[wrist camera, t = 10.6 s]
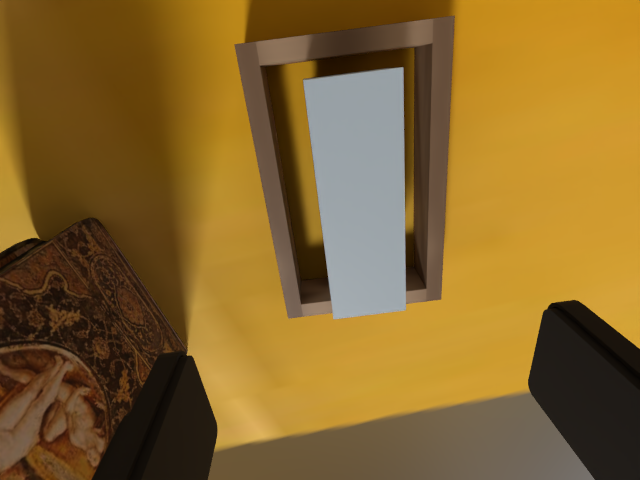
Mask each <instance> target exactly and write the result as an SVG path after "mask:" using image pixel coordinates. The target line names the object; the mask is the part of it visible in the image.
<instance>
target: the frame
mask: <svg viewBox="0 0 640 480" xmlns="http://www.w3.org/2000/svg"><path fill="white" fill-rule="evenodd" d="M454 18H455V16H449V17H441V18H434V19H426V20H418V21H411V22H403V23H395V24H388V25H380V26H372V27H365V28H357V29H349V30H342V31H334V32H326V33H319V34H311V35H303V36H296V37H288V38H280V39H272V40H265V41H257V42H249V43H242V44H234V45H235V50H236V55H237V60H238V65H239V70H240V75H241V80H242V85H243V90H244V96H245V101H246V106H247V111H248V116H249V121H250V126H251V131H252V136H253V141H254V146H255V151H256V156H257V162H258V167H259V172H260V177H261V182H262V187H263V192H264V197H265V202H266V207H267V212H268V217H269V223H270V228H271V233H272V238H273V243H274V248H275V253H276V258H277V263H278V268H279V273H280V278H281V284H282V289H283V294H284V299H285V304H286V309H287V314H288V318H296V317H304V316H312V315H320V314H328V313H333V310H332V303H331V295H330V287H329V279H328V277H326V278H318V279H310V280H302V281H301V277H300V271H299V265H298V259H297V253H296V247H295V241H294V235H293V229H292V223H291V217H290V211H289V205H288V199H287V193H286V187H285V181H284V175H283V169H282V163H281V157H280V151H279V145H278V139H277V133H276V127H275V121H274V115H273V109H272V103H271V97H270V91H269V85H268V78H267V72H266V67H267V66H275V65H282V64H290V63H298V62H305V61H313V60H321V59H328V58H336V57H344V56H352V55H359V54H367V53H375V52H382V51H390V50H398V49H406V48H413V47H415V60H414V267H406V304H409V303H417V302H425V301H433V300H441V291H442V270H443V249H444V228H445V207H446V186H447V165H448V144H449V123H450V102H451V81H452V60H453V39H454Z"/></svg>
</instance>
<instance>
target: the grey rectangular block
mask: <svg viewBox="0 0 640 480" xmlns="http://www.w3.org/2000/svg"><path fill="white" fill-rule="evenodd" d="M303 83H304V91H305V99H306V107H307V115H308V123H309V130H310V138H311V146H312V154H313V162H314V170H315V178H316V185H317V193H318V201H319V209H320V217H321V225H322V232H323V240H324V248H325V256H326V264H327V272H328V279H329V287H330V295H331V303H332V310H333V318H334V319H340V318H348V317H356V316H364V315H371V314H379V313H387V312H395V311H403V310H406V265H405V171H404V77H403V67H398V68H383V69H375V70H368V71H360V72H353V73H345V74H338V75H330V76H323V77H315V78H307V79H303Z"/></svg>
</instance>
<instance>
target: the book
mask: <svg viewBox="0 0 640 480" xmlns="http://www.w3.org/2000/svg"><path fill="white" fill-rule="evenodd" d="M177 351H184V352H185V353H186V354H187V349H186V347H185V346H184V344H183V343H182V341H181V340H180V338H179V337H178V335H177V334H176V332H175V331H174V330H173V328H172V327H171V325H170V324H169V322H168V321H167V319H166V318H165V316H164V315H163V313H162V312H161V310H160V309H159V307H158V306H157V304H156V303H155V301H154V300H153V298H152V297H151V295H150V294H149V292H148V291H147V289H146V288H145V286H144V285H143V283H142V282H141V280H140V279H139V277H138V276H137V274H136V273H135V272H134V270H133V269H132V267H131V266H130V264H129V263H128V261H127V260H126V258H125V257H124V255H123V254H122V252H121V251H120V249H119V248H118V247H117V245H116V244H115V242H114V241H113V240H112V238H111V237H110V236H109V234H108V233H107V231H106V230H105V229H104V227H103V226H102V224H101V223H100V222H99V221H98V220H97V219H95V218H88V219H85V220H82V221H80V222H77V223H75V224H73V225H72V226H70V227H69V228H67V229H66V230H64V231H62V232H61V233H60V234H58V235H57V236H55V237H54V238H52V239H51V240H49V241H48V242H46V241H42V240H40V239H37V238H31V239H27V240H25V241H22V242H19V243H17V244H15V245H13V246H11V247H10V248H8V249H6V250H4V251H3V252H1V253H0V480H91V479H92V477H93V475H94V473H95V471H96V469H97V467H98V465H99V463H100V461H101V459H102V457H103V456H104V454H105V452H106V450H107V448H108V446H109V444H110V442H111V440H112V438H113V436H114V434H115V432H116V430H117V428H118V426H119V424H120V422H121V420H122V419H123V417H124V416H125V415H126V414H127V413H128V412H131V410H132V408H133V406H134V404H135V402H136V399H137V397H138V395H139V393H140V391H141V389H142V387H143V385H144V383H145V381H146V379H147V377H148V375H149V373H150V371H151V369H152V367H153V365H154V363H155V361H156V359H157V357H158V356H159V355H160V354H161V353H169V352H177Z"/></svg>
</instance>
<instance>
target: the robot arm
mask: <svg viewBox="0 0 640 480" xmlns="http://www.w3.org/2000/svg"><path fill="white" fill-rule="evenodd" d="M528 386H529V389H530V392H531V394H532V395H533V397H534V398H535V400H536V401H537V402H538V404H539V405H540V406H541V408H542V409H543V410H544V412H545V413H546V414H547V416H548V417H549V418H550V420H551V421H552V422H553V424H554V425H555V427H556V428H557V429H558V431H559V432H560V433H561V435H562V436H563V437H564V439H565V440H566V441H567V443H568V444H569V445H570V447H571V448H572V449H573V451H574V452H575V453H576V455H577V456H578V457H579V459H580V460H581V461H582V463H583V464H584V465H585V467H586V468H587V470H588V471H589V472H590V473H591V475H592V476H593V478H594V479H595V480H640V349H639V348H638V347H636V346H635V345H634V344H633V343H631V342H630V341H629V340H628V339H626V338H625V337H624V336H622V335H621V334H620V333H619V332H617V331H616V330H615V329H614V328H612V327H611V326H610V325H609V324H607V323H606V322H605V321H604V320H602V319H601V318H600V317H598V316H597V315H596V314H595V313H593V312H592V311H591V310H590V309H588V308H587V307H586V306H585V305H583V304H582V303H580V302H579V301H576V300H571V301H564V302H556V303H551V304H550V305H549V307H548V309H547V310H545V311H544V312H543V315H542V320H541V325H540V329H539V334H538V338H537V343H536V347H535V352H534V357H533V361H532V366H531V370H530V375H529V379H528ZM216 439H217V423H216V420H215V417H214V414H213V411H212V409H211V406H210V403H209V400H208V397H207V395H206V392H205V389H204V386H203V383H202V381H201V378H200V375H199V372H198V369H197V367H196V364H195V361H194V359H193V357H192V356H187V355H186V353H185V352H184V351H177V352H169V353H161V354H160V355H159V356H158V357H157V359H156V361H155V363H154V365H153V367H152V369H151V371H150V373H149V375H148V377H147V379H146V381H145V383H144V385H143V387H142V389H141V391H140V393H139V395H138V397H137V399H136V402H135V404H134V406H133V408H132V410H131V412H128V413H127V414H126V415H125V416H124V417H123V419H122V420H121V422H120V424H119V426H118V428H117V430H116V432H115V434H114V436H113V438H112V440H111V442H110V444H109V446H108V448H107V450H106V452H105V454H104V456H103V457H102V459H101V461H100V463H99V465H98V467H97V469H96V471H95V473H94V475H93V477H92V479H91V480H208V476H209V471H210V466H211V462H212V457H213V452H214V448H215V443H216Z"/></svg>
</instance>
